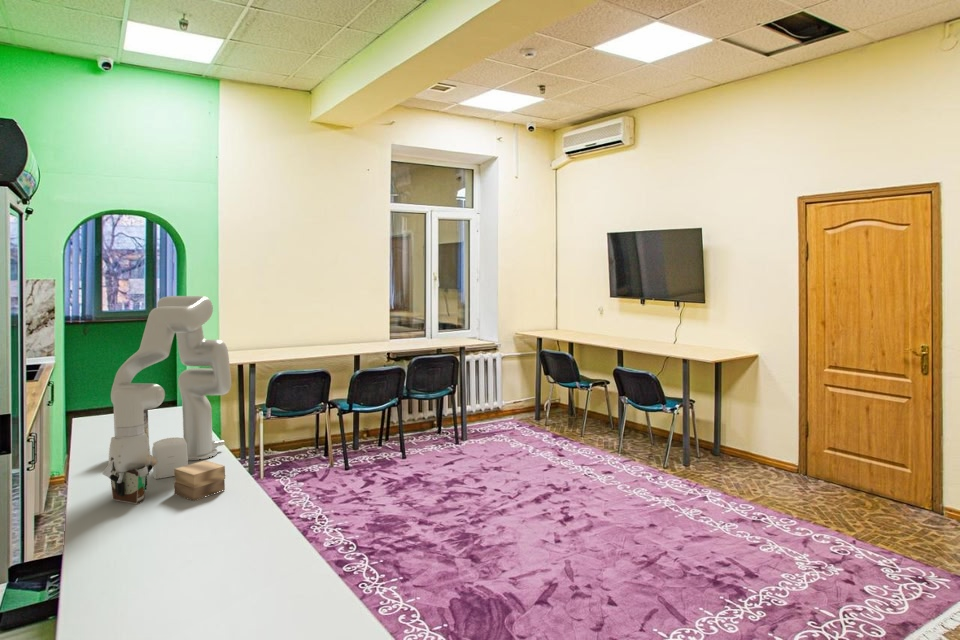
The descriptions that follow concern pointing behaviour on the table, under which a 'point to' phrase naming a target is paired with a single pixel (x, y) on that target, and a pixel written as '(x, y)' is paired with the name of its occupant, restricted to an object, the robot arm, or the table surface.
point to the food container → (132, 486)
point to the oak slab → (199, 474)
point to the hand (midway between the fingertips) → (131, 491)
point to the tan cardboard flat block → (198, 490)
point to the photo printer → (169, 456)
